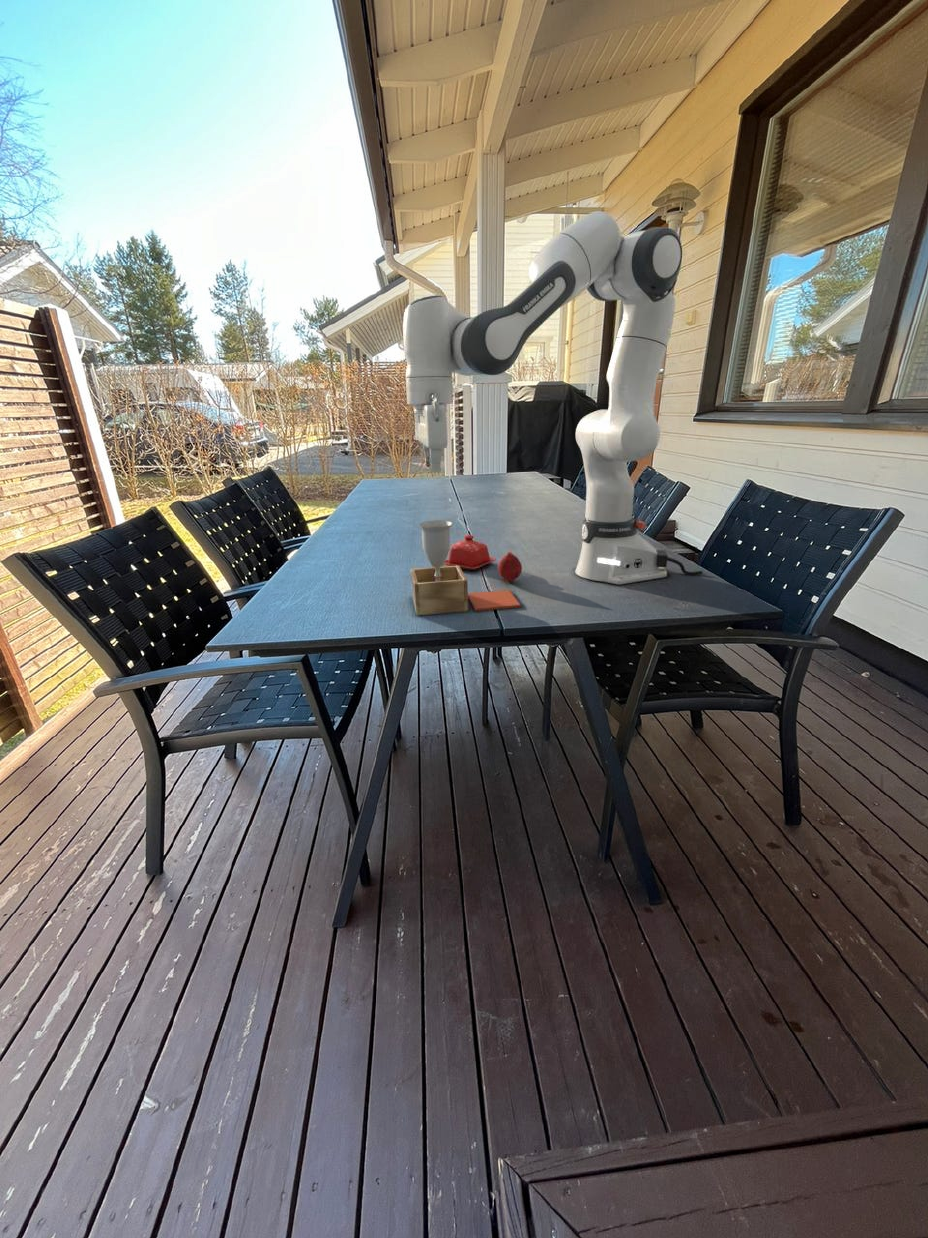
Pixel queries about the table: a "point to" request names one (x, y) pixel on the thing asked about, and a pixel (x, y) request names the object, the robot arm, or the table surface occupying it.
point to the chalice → (436, 543)
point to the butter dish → (469, 554)
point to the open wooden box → (439, 590)
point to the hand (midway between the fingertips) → (432, 469)
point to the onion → (509, 567)
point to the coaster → (493, 600)
